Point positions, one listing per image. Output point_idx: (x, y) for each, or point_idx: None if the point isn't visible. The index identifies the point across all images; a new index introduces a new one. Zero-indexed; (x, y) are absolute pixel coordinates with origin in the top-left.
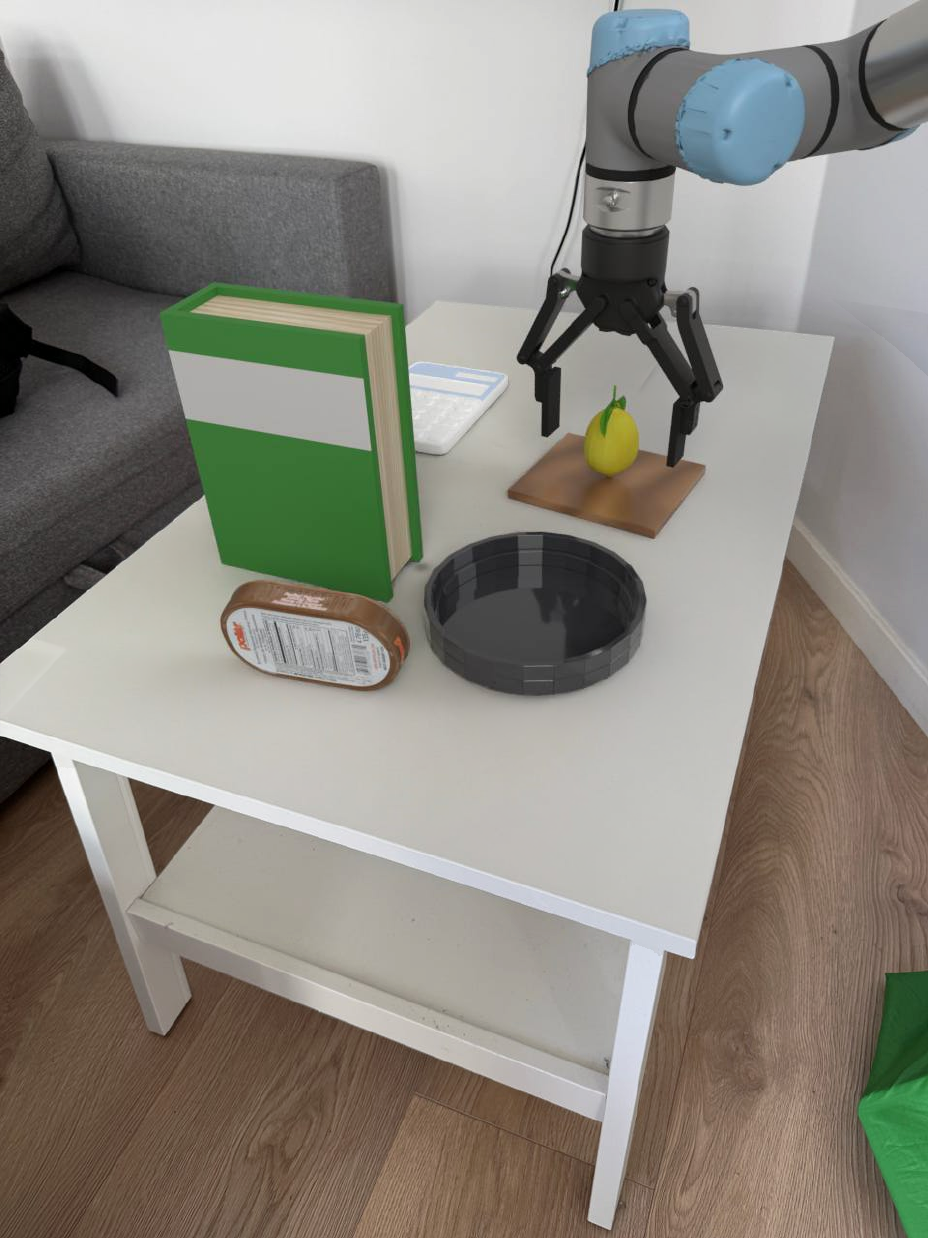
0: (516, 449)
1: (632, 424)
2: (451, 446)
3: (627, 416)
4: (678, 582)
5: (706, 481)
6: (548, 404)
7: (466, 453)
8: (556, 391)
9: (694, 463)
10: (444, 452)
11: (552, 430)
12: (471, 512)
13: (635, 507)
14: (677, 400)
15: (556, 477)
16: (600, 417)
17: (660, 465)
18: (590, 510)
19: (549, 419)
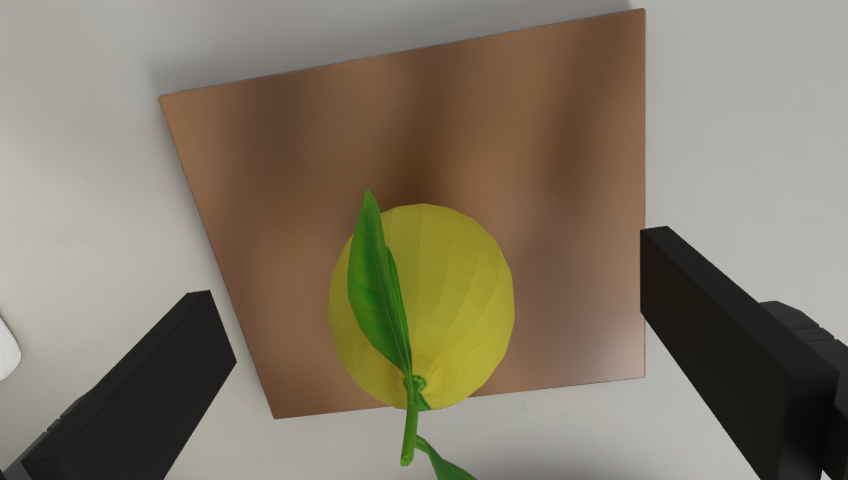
0: (113, 226)
1: (497, 332)
2: (4, 333)
3: (473, 348)
4: (736, 446)
5: (654, 52)
6: (182, 447)
7: (48, 313)
8: (142, 414)
9: (605, 22)
10: (20, 358)
11: (222, 339)
12: (266, 472)
13: (562, 329)
14: (782, 459)
15: (320, 324)
16: (390, 403)
17: (516, 105)
18: (478, 390)
19: (208, 392)
